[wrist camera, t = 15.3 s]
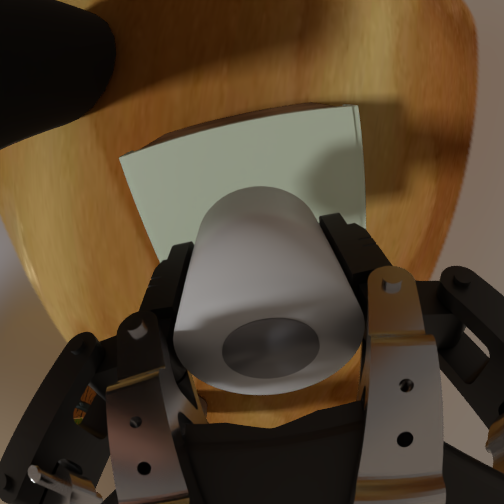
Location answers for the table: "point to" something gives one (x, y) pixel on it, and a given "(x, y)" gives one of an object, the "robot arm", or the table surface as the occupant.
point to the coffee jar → (49, 65)
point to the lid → (249, 170)
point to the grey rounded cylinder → (265, 298)
